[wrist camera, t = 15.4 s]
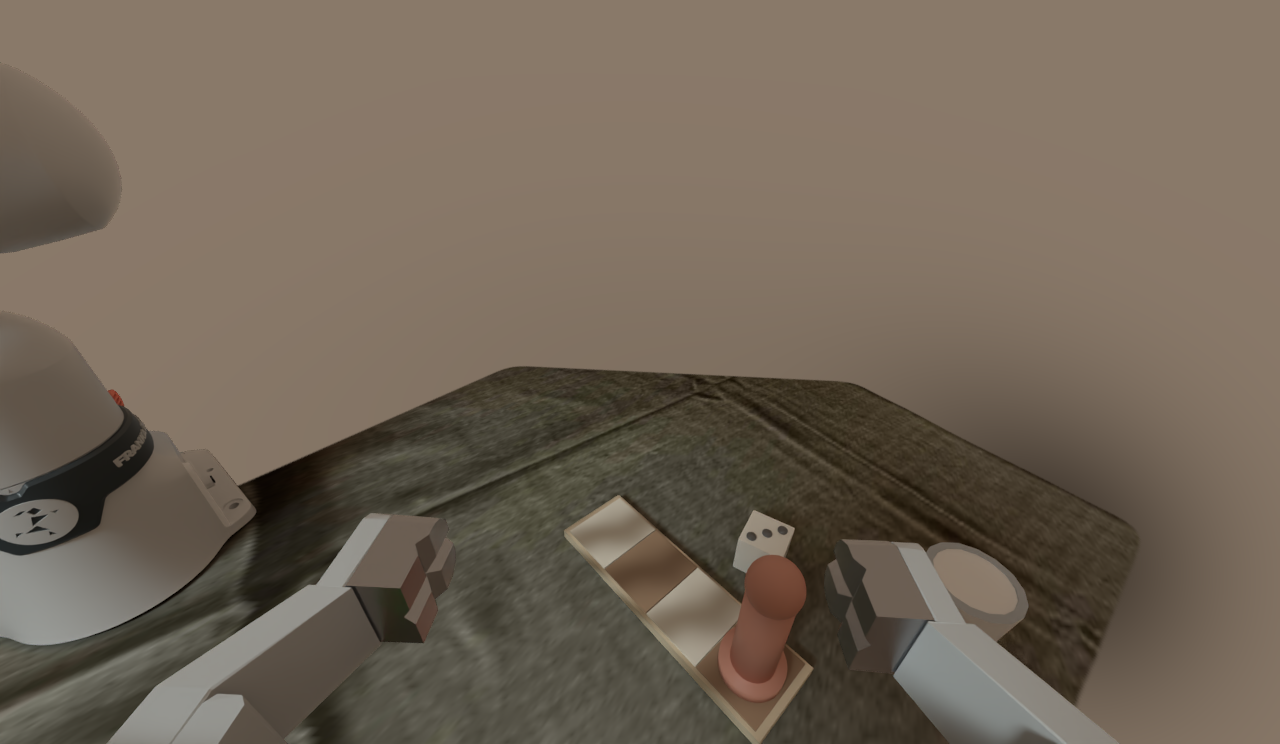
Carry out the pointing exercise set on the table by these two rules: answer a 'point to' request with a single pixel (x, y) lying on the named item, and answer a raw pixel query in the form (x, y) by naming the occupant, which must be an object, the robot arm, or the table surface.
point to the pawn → (762, 630)
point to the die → (761, 540)
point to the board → (677, 606)
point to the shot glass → (980, 587)
